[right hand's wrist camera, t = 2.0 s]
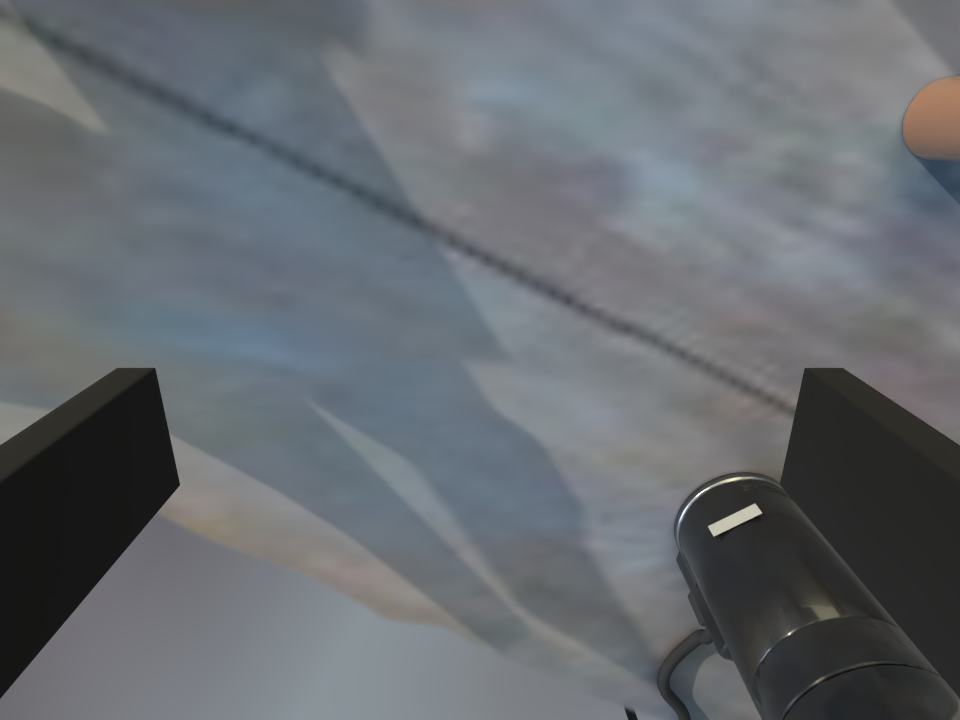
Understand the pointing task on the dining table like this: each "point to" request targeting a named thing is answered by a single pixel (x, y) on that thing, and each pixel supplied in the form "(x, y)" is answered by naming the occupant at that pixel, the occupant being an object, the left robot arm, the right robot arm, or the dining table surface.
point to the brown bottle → (935, 121)
